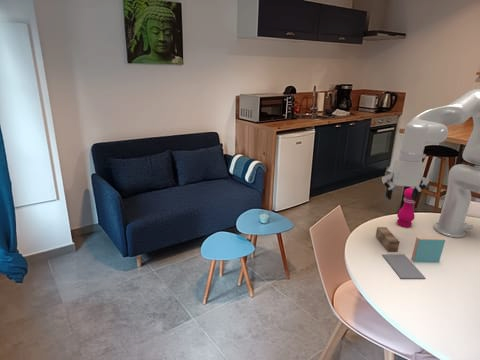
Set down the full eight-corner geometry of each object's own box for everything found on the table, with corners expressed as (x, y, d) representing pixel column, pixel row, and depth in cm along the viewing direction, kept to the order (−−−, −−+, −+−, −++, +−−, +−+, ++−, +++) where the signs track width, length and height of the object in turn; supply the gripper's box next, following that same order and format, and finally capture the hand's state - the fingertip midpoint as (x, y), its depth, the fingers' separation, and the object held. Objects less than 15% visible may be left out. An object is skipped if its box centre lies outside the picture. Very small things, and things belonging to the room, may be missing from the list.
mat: (404, 255, 131) (404, 254, 131) (425, 279, 117) (425, 278, 117) (382, 255, 131) (382, 254, 131) (400, 279, 117) (401, 277, 117)
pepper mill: (414, 229, 153) (424, 188, 146) (397, 227, 154) (406, 187, 147) (409, 221, 159) (419, 183, 152) (394, 220, 161) (402, 181, 154)
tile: (411, 259, 129) (416, 236, 125) (435, 259, 129) (442, 237, 126) (413, 262, 127) (419, 239, 124) (439, 262, 127) (445, 239, 124)
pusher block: (375, 237, 145) (377, 227, 143) (384, 237, 145) (386, 227, 143) (387, 252, 133) (390, 241, 132) (397, 252, 134) (399, 241, 132)
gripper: (429, 155, 125) (419, 196, 131) (383, 152, 126) (375, 194, 131) (439, 160, 118) (428, 204, 124) (390, 158, 119) (381, 201, 124)
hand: (400, 199), depth 128 cm, fingers open, 9 cm apart
